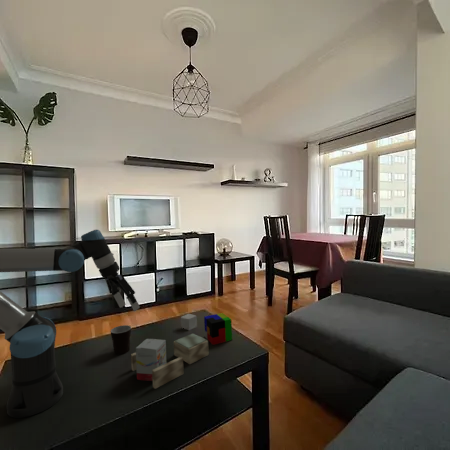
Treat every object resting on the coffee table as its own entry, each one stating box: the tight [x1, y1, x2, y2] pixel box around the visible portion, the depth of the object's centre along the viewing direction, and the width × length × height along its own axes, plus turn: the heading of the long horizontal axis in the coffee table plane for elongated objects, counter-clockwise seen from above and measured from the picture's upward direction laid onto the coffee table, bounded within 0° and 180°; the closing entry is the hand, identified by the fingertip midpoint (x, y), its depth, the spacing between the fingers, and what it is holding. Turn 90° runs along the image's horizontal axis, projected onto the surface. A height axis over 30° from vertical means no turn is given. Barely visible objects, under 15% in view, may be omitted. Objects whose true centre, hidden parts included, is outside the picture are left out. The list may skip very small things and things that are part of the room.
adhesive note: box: [180, 313, 198, 331], centre depth 144 cm, size 6×6×6 cm
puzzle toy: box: [203, 312, 233, 346], centre depth 129 cm, size 10×10×10 cm
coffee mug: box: [110, 324, 132, 356], centre depth 122 cm, size 12×9×10 cm
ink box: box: [135, 338, 167, 382], centre depth 101 cm, size 9×9×12 cm
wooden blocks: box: [130, 333, 209, 390], centre depth 108 cm, size 28×18×6 cm, turn 134°
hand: (129, 307), depth 116 cm, fingers open, 13 cm apart
